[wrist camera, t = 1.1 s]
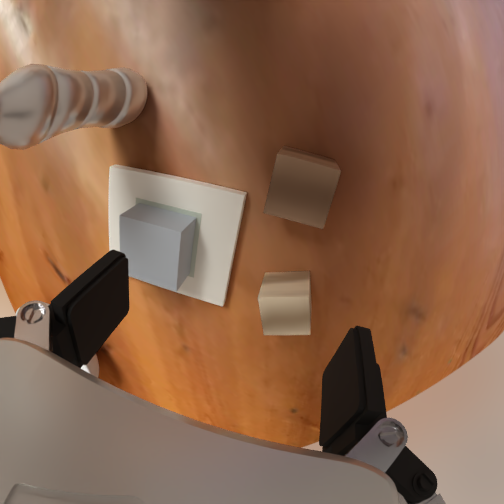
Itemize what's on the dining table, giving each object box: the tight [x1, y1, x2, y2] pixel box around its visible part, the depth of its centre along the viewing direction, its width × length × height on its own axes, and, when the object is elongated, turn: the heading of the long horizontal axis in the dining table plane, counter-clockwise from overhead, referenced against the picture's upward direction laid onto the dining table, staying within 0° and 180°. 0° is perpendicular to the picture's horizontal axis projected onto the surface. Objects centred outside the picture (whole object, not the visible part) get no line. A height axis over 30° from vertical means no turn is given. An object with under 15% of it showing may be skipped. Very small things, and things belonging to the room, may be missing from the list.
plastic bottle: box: [0, 64, 147, 150], centre depth 18 cm, size 6×7×20 cm
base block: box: [119, 203, 196, 292], centre depth 30 cm, size 7×7×4 cm
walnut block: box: [263, 146, 341, 229], centre depth 25 cm, size 5×5×6 cm
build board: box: [109, 164, 247, 307], centre depth 32 cm, size 14×16×1 cm
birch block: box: [258, 271, 312, 335], centre depth 31 cm, size 5×5×5 cm
